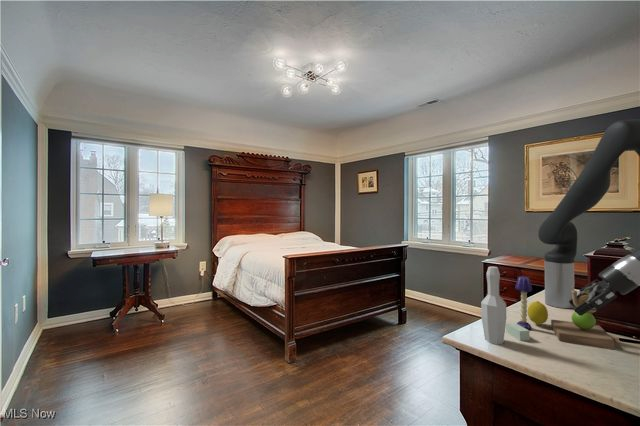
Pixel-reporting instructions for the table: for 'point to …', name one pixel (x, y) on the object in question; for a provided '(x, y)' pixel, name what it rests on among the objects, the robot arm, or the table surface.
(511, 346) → the table surface
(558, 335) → the walnut block
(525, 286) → the toy lamp
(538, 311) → the lemon
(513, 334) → the sage block
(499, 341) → the low poly bottle
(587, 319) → the snail figurine
